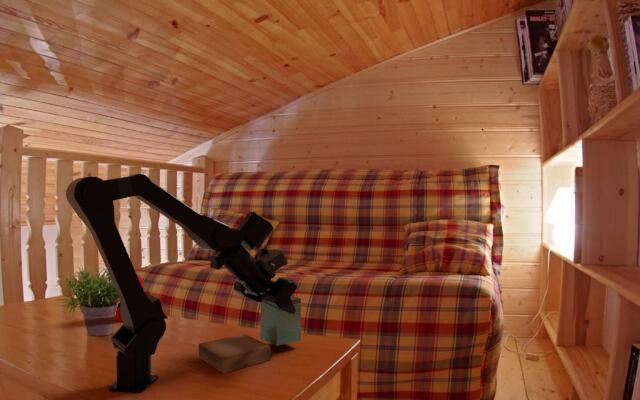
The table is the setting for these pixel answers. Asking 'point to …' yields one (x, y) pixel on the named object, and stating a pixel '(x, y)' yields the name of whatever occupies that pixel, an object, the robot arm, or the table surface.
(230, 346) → the walnut block
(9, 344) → the table surface
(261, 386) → the table surface
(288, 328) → the tea tin
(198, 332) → the table surface
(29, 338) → the table surface
